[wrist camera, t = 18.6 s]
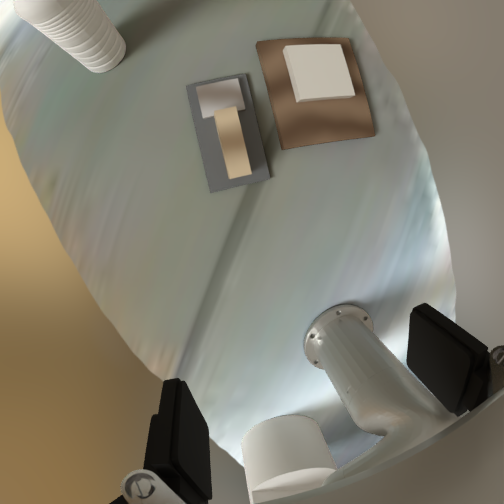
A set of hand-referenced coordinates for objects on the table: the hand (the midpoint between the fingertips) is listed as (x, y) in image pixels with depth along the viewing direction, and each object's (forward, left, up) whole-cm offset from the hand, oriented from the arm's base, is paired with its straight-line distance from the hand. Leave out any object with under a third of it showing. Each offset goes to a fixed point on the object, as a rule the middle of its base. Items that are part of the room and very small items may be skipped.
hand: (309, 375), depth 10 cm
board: (+17, -15, -30) cm, 38 cm away
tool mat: (+13, -1, -30) cm, 33 cm away
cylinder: (-46, +2, -31) cm, 55 cm away
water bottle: (+30, +14, -31) cm, 45 cm away
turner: (+13, -1, -30) cm, 33 cm away
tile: (+15, -15, -28) cm, 35 cm away
